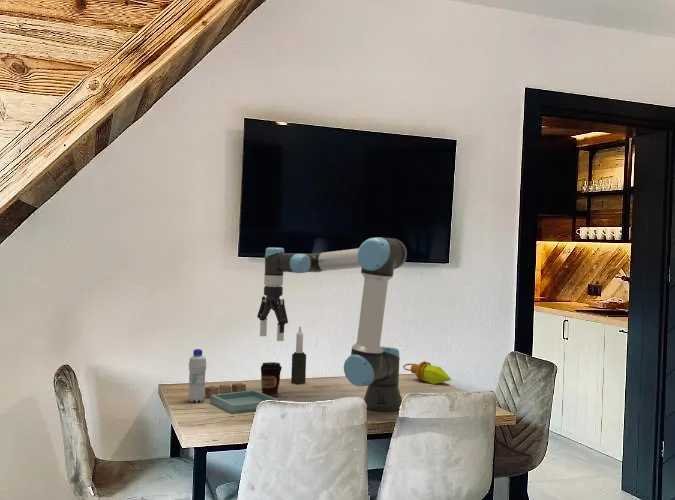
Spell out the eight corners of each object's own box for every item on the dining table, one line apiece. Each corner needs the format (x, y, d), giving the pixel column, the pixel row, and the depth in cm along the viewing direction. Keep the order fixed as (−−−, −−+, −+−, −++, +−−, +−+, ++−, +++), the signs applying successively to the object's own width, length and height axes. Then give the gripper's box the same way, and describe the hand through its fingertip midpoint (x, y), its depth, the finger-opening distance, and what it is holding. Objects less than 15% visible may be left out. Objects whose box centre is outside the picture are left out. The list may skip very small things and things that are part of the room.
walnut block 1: (218, 397, 266) (218, 387, 266) (211, 399, 262) (212, 388, 262) (210, 395, 268) (210, 385, 268) (203, 397, 264) (204, 387, 264)
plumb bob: (456, 385, 306) (408, 370, 320) (457, 366, 303) (409, 353, 318) (447, 392, 299) (398, 377, 313) (447, 374, 296) (399, 359, 311)
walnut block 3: (245, 394, 272) (245, 384, 272) (237, 395, 269) (238, 385, 269) (239, 392, 275) (239, 382, 275) (231, 394, 272) (231, 384, 272)
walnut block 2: (231, 396, 267) (231, 386, 267) (221, 397, 266) (221, 387, 266) (229, 394, 271) (229, 384, 271) (219, 395, 270) (219, 385, 270)
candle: (306, 383, 297) (308, 326, 297) (298, 384, 293) (299, 327, 293) (298, 381, 301) (300, 325, 300) (290, 382, 297) (291, 326, 297)
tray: (279, 407, 251) (279, 399, 251) (233, 414, 240) (233, 405, 240) (254, 397, 267) (254, 390, 267) (210, 402, 255) (210, 395, 255)
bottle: (196, 404, 253) (198, 351, 253) (183, 401, 256) (185, 349, 256) (209, 401, 258) (210, 348, 258) (196, 398, 262) (197, 347, 262)
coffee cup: (276, 398, 266) (277, 365, 266) (256, 396, 268) (257, 364, 268) (283, 393, 275) (284, 362, 275) (263, 392, 276) (264, 360, 276)
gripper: (298, 288, 263) (295, 342, 263) (266, 283, 283) (264, 333, 284) (281, 288, 259) (279, 343, 259) (250, 283, 279) (248, 334, 279)
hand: (271, 338), depth 271 cm, fingers open, 13 cm apart
